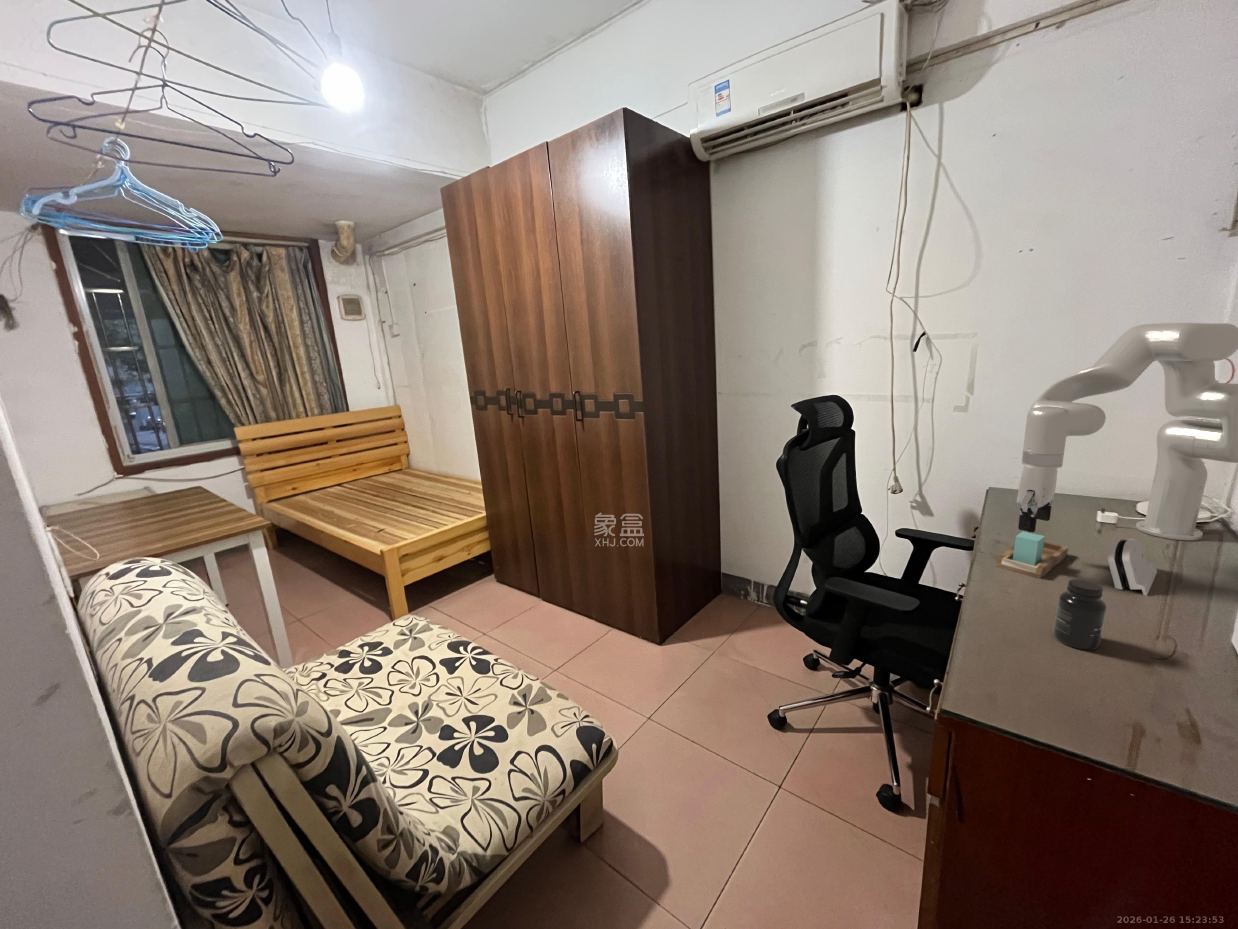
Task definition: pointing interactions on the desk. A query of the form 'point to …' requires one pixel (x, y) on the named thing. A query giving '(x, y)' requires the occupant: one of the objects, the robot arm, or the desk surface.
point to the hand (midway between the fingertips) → (1034, 524)
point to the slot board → (1049, 559)
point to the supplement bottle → (1080, 615)
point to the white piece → (1130, 565)
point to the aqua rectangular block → (1028, 548)
